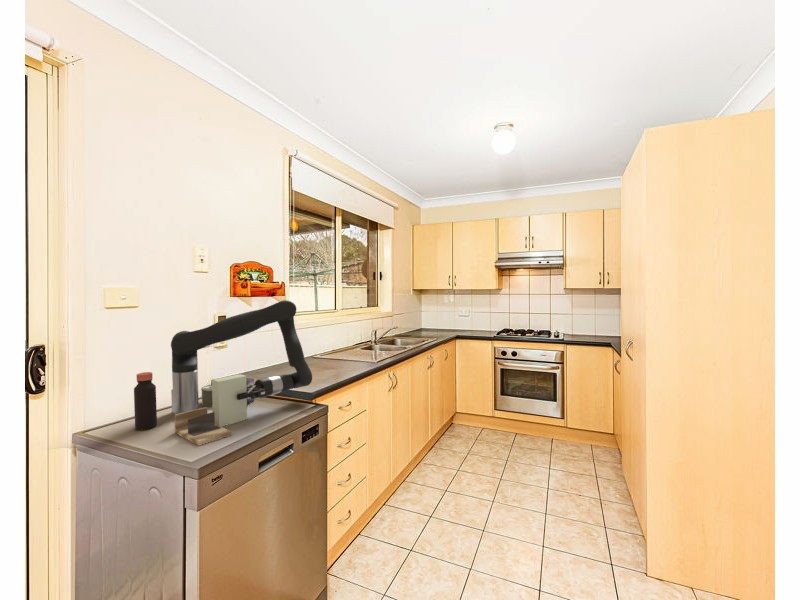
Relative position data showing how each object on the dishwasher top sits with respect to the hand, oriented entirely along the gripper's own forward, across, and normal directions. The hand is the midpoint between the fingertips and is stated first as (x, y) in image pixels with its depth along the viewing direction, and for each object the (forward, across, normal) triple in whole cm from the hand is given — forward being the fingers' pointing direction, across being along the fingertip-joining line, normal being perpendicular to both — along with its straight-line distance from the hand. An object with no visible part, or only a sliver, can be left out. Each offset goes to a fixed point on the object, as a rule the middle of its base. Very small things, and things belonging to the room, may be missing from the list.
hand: (231, 395), depth 151 cm
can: (-8, -29, +10) cm, 32 cm away
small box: (-14, -17, +10) cm, 24 cm away
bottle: (+23, -19, +10) cm, 31 cm away
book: (+1, 0, +10) cm, 10 cm away
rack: (+13, +4, +10) cm, 17 cm away
